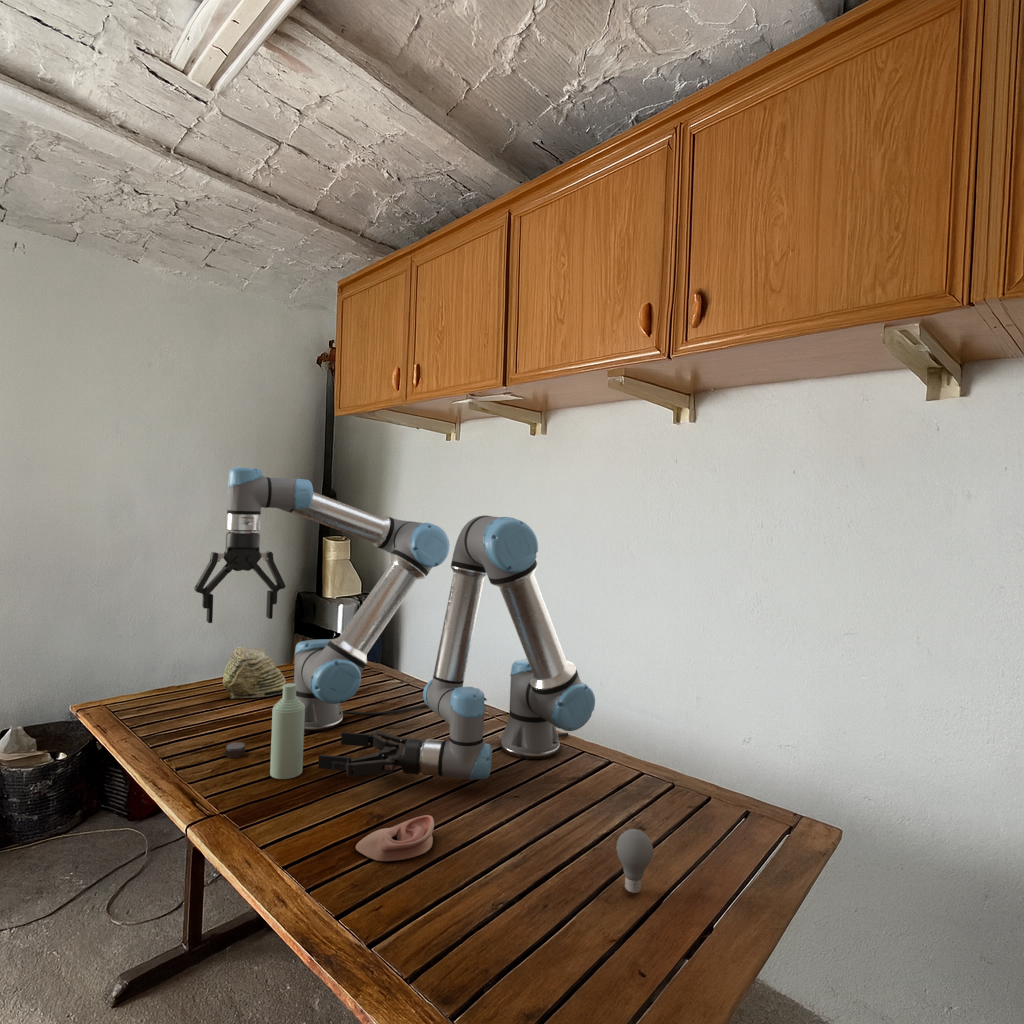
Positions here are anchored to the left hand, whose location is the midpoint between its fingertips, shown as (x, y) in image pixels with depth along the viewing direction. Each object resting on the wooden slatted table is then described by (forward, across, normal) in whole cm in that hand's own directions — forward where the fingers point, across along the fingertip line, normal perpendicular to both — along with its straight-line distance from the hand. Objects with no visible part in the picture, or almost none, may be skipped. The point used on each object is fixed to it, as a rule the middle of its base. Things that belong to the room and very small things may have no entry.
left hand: (240, 620), depth 152 cm
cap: (+31, 0, 0) cm, 31 cm away
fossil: (+33, +16, +44) cm, 57 cm away
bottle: (+33, +7, -16) cm, 37 cm away
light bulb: (+33, +42, -90) cm, 105 cm away
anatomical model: (+33, +15, -57) cm, 67 cm away
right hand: (+27, +15, -22) cm, 38 cm away
